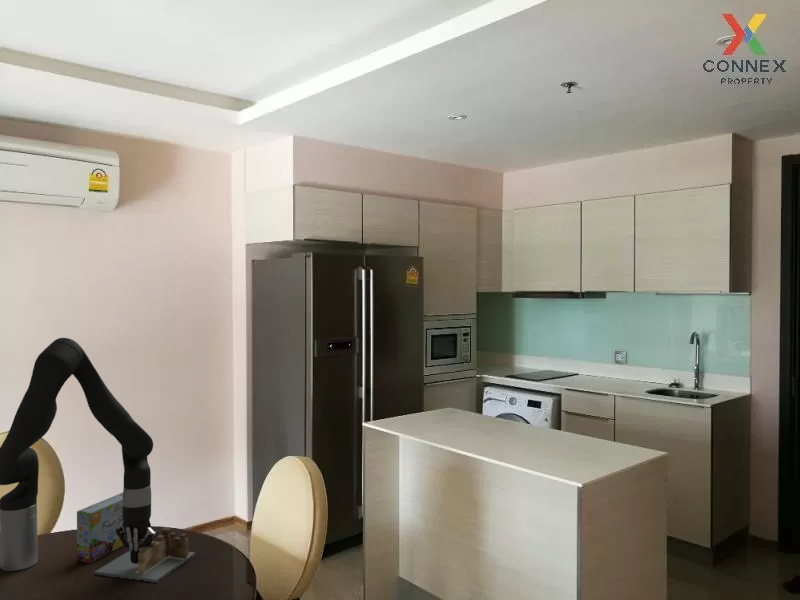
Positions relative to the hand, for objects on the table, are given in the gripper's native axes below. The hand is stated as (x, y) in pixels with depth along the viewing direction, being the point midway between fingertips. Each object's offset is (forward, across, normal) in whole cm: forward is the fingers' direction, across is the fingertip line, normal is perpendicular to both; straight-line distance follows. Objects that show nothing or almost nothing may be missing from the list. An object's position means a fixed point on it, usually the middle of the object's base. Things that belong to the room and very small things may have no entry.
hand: (136, 562), depth 176 cm
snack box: (+3, -18, +10) cm, 21 cm away
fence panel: (+1, +4, +2) cm, 4 cm away
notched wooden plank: (+2, +6, +9) cm, 11 cm away
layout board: (+2, 0, +4) cm, 4 cm away
